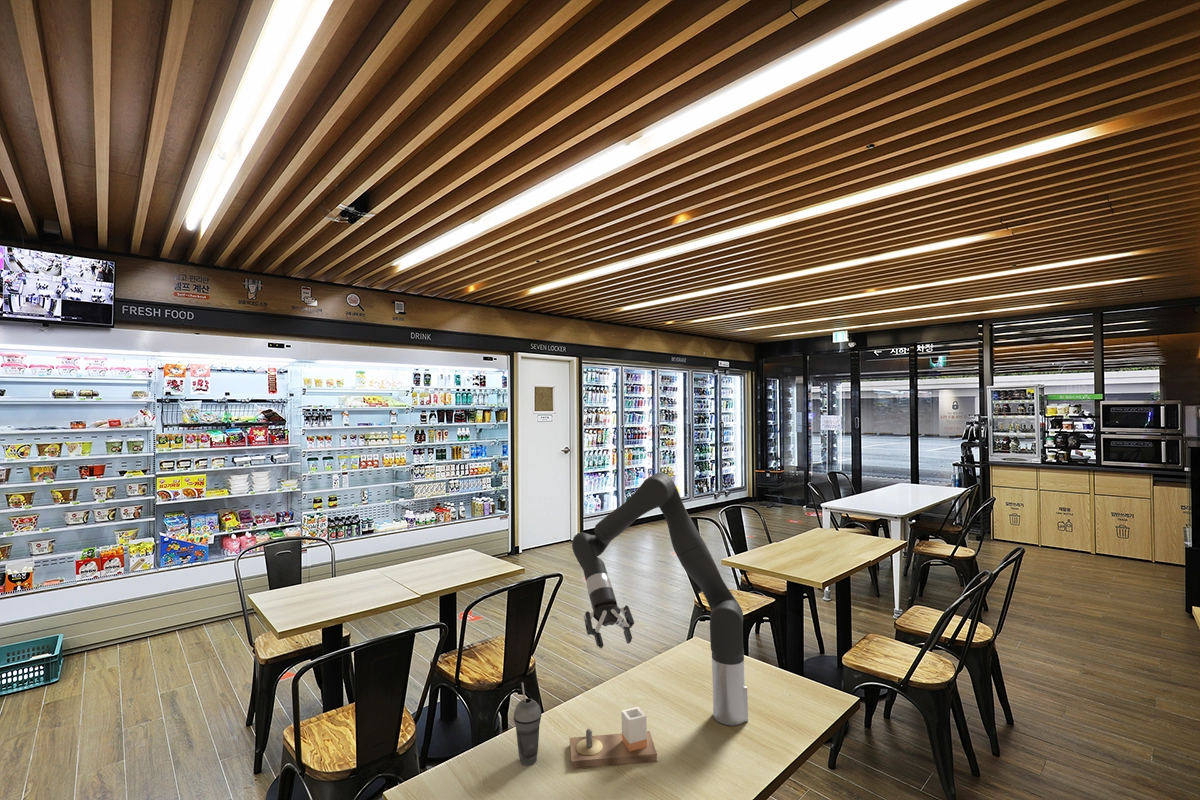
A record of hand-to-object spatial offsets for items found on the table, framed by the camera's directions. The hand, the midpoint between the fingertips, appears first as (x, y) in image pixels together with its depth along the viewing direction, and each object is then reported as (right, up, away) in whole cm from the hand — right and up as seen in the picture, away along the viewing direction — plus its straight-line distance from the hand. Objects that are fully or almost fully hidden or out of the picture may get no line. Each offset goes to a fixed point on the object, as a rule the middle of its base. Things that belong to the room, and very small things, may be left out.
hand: (615, 644), depth 157 cm
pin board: (-1, -23, -12) cm, 26 cm away
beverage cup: (-23, -24, -14) cm, 36 cm away
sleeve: (+5, -21, -11) cm, 24 cm away
